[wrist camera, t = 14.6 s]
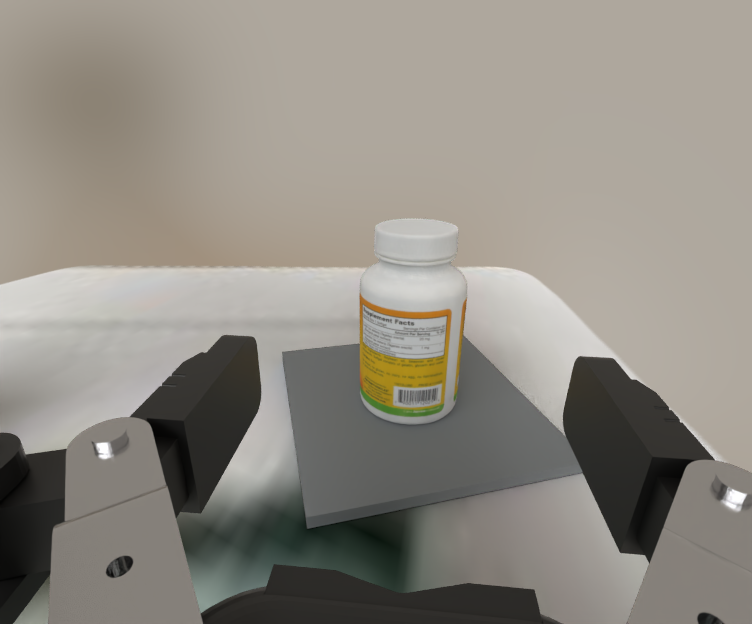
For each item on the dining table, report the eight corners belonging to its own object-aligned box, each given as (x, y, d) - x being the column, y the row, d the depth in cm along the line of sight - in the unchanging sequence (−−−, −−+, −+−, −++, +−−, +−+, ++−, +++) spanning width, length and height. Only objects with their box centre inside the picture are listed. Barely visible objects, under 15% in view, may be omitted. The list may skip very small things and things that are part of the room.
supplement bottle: (402, 364, 28) (408, 211, 25) (475, 397, 25) (495, 226, 21) (339, 398, 25) (336, 225, 21) (415, 443, 21) (427, 246, 18)
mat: (307, 528, 18) (306, 517, 17) (282, 359, 30) (282, 351, 30) (587, 471, 21) (590, 461, 20) (460, 340, 33) (460, 332, 33)
